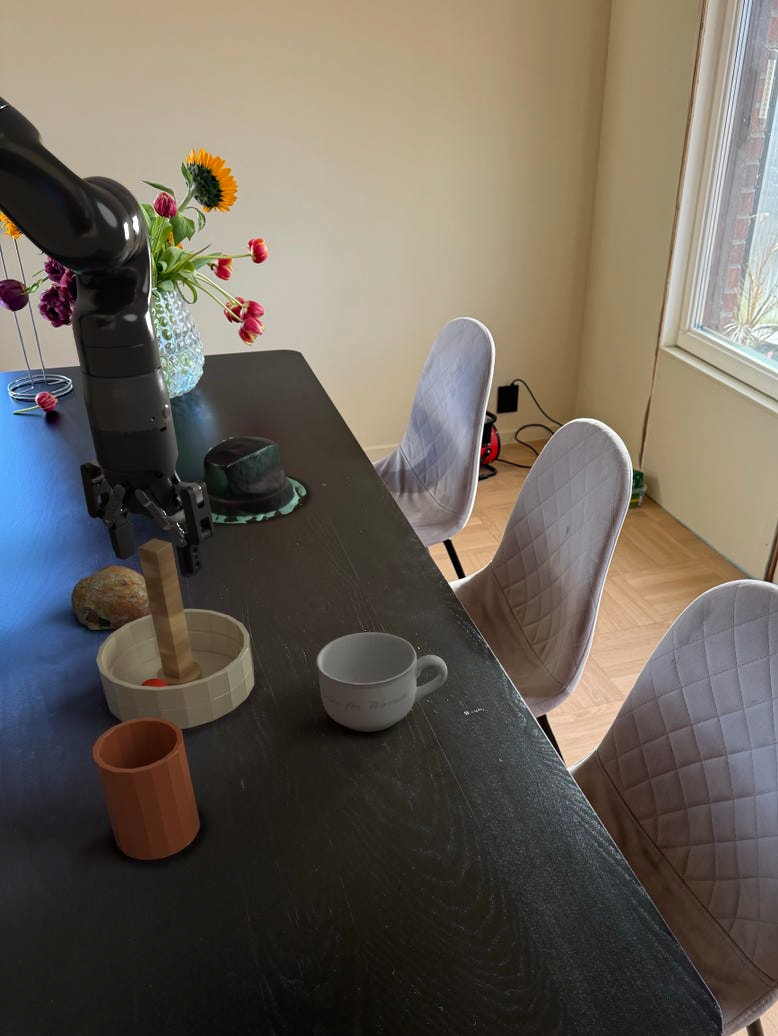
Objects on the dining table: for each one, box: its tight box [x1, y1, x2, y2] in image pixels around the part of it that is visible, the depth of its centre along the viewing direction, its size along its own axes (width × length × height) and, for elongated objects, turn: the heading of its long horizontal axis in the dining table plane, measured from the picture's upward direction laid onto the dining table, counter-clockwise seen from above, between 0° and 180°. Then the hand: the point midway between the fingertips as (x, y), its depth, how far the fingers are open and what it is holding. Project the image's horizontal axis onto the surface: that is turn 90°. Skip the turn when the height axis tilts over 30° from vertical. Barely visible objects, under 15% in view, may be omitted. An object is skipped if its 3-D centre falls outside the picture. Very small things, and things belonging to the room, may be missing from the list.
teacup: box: [315, 631, 448, 733], centre depth 97 cm, size 14×11×8 cm
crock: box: [92, 717, 201, 861], centre depth 80 cm, size 7×7×11 cm
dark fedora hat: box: [201, 436, 307, 524], centre depth 146 cm, size 15×19×20 cm
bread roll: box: [70, 565, 152, 631], centre depth 114 cm, size 10×10×8 cm
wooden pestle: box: [137, 538, 203, 686], centre depth 96 cm, size 5×5×18 cm
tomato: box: [140, 679, 169, 687], centre depth 97 cm, size 4×4×4 cm
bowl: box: [95, 608, 255, 730], centre depth 100 cm, size 16×16×6 cm
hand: (158, 565), depth 93 cm, fingers open, 8 cm apart
